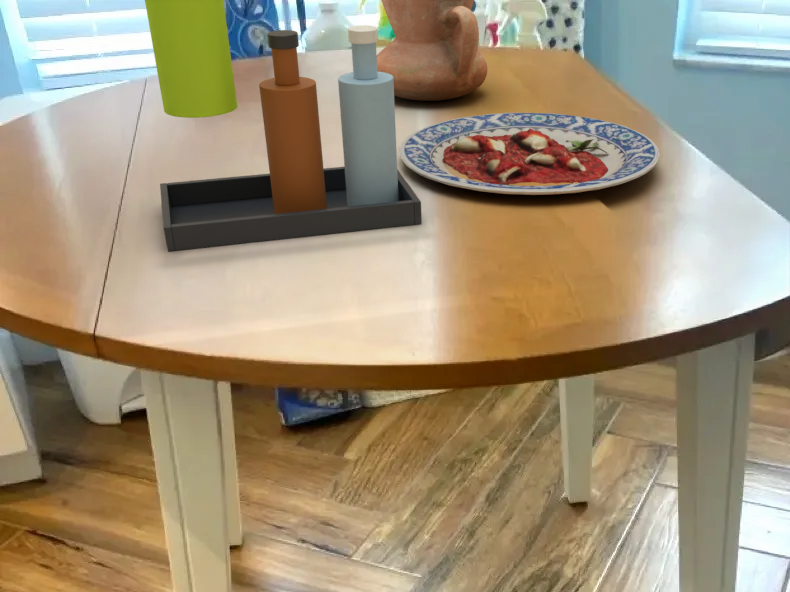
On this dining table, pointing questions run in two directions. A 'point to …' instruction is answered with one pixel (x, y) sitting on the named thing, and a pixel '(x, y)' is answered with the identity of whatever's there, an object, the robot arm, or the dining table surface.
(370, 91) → the pale blue bottle
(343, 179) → the tray
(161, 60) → the soap dispenser
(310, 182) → the amber bottle
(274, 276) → the dining table surface
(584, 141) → the ceramic plate
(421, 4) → the ceramic jug
